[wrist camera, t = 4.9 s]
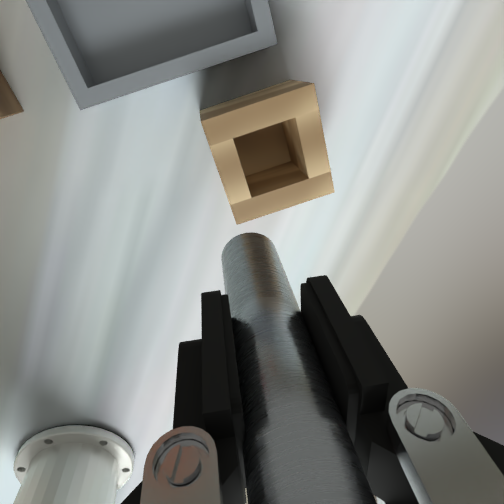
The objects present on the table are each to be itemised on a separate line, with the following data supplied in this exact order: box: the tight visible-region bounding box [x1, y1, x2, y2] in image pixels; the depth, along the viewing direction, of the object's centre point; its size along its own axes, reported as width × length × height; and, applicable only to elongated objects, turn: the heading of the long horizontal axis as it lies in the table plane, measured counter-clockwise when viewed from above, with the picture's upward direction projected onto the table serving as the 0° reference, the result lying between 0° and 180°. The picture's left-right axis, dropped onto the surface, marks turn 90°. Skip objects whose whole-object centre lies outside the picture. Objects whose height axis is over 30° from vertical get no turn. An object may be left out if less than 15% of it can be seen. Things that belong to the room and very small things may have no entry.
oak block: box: [200, 80, 334, 225], centre depth 25 cm, size 7×7×6 cm
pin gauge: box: [222, 233, 377, 504], centre depth 9 cm, size 2×2×12 cm
